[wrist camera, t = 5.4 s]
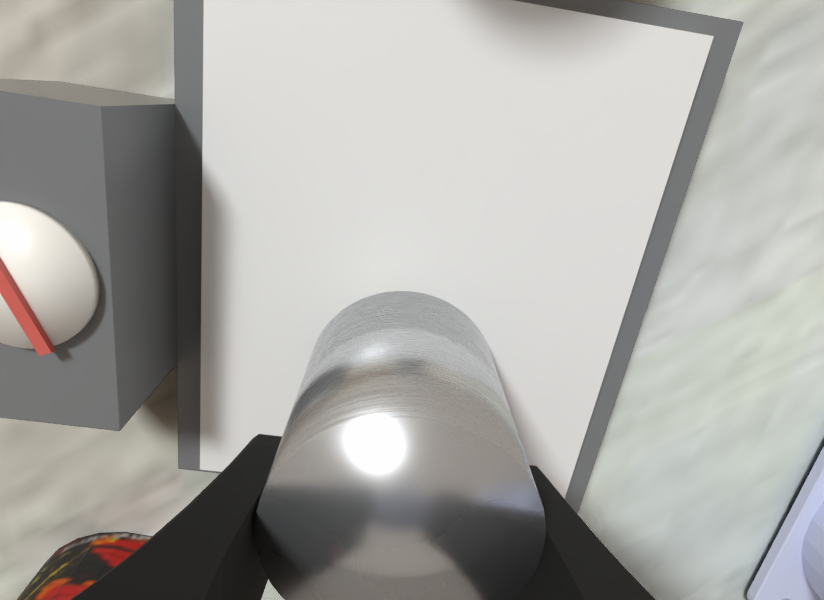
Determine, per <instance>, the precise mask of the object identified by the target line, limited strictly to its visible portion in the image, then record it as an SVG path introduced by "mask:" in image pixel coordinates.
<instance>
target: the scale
mask: <svg viewBox="0 0 824 600" xmlns="http://www.w3.org/2000/svg"><path fill="white" fill-rule="evenodd" d="M742 25H743V22H741V21H735V20H730V19H724V18H719V17H713V16H708V15H702V14H697V13H691V12H686V11H680V10H675V9H669V8H663V7H658V6H652V5H647V4H641V3H636V2H630V1H625V0H174V69H175V100H172V99H166V98H160V97H153V96H147V95H141V94H134V93H128V92H122V91H115V90H109V89H103V88H96V87H90V86H84V85H77V84H71V83H65V82H58V81H35V80H13V79H0V418H9V419H18V420H26V421H35V422H44V423H53V424H62V425H70V426H79V427H88V428H97V429H105V430H114V431H120V430H121V429H122V428H123V427H124V425H125V424H126V423H127V422H128V421H129V420H130V418H131V417H132V416H133V415H134V414H135V412H136V411H137V410H138V409H139V408H140V407H141V405H142V404H143V403H144V402H145V401H146V399H147V398H148V397H149V396H150V395H151V394H152V392H153V391H154V390H155V389H156V388H157V386H158V385H159V384H160V383H161V382H162V381H163V379H164V378H165V377H166V376H167V375H168V374H169V372H170V371H171V370H172V369H173V368H174V366H175V365H176V364H177V370H178V469H186V470H195V471H204V472H213V473H221V472H222V471H223V470H224V469H225V468H226V467H227V466H228V465H229V464H230V463H231V462H232V461H233V460H234V459H235V458H236V457H237V455H238V454H239V453H240V452H241V451H242V450H243V449H244V448H245V447H246V445H247V444H248V443H249V442H250V441H251V440H252V438H254V437H255V436H257V435H258V434H265V435H273V436H283V433H284V430H285V427H286V425H287V422H288V419H289V416H290V413H291V410H292V408H293V405H294V402H295V399H296V396H297V394H298V391H299V388H300V385H301V382H302V380H303V377H304V374H305V371H306V368H307V365H308V363H309V360H310V357H311V354H312V351H313V349H314V346H315V344H316V342H317V339H318V337H319V336H320V334H321V332H322V331H323V329H324V328H325V327H326V325H327V324H328V323H329V322H330V321H331V320H332V318H334V317H335V316H336V315H337V314H338V313H339V312H340V311H342V310H343V309H345V308H346V307H348V306H349V305H351V304H352V303H355V302H357V301H359V300H361V299H363V298H366V297H369V296H372V295H375V294H379V293H384V292H393V291H412V292H418V293H424V294H428V295H431V296H434V297H438V298H440V299H442V300H444V301H447V302H449V303H450V304H452V305H454V306H455V307H457V308H458V309H460V310H461V311H462V312H463V313H465V314H466V315H467V316H468V317H469V318H470V319H471V320H472V321H473V322H474V323H475V324H476V325H477V327H478V328H479V330H480V331H481V333H482V334H483V336H484V338H485V340H486V342H487V344H488V347H489V350H490V353H491V356H492V359H493V362H494V365H495V367H496V370H497V373H498V376H499V379H500V382H501V385H502V388H503V391H504V394H505V397H506V400H507V403H508V405H509V408H510V411H511V414H512V417H513V420H514V423H515V426H516V429H517V432H518V435H519V438H520V441H521V444H522V446H523V449H524V452H525V455H526V458H527V461H528V464H529V465H534V466H537V467H538V468H539V469H540V470H541V471H542V472H543V474H544V475H545V476H546V477H547V478H548V480H549V481H550V482H551V483H552V484H553V486H554V487H555V488H556V489H557V491H558V492H559V493H560V494H561V495H562V497H563V498H564V499H565V500H566V501H567V503H568V504H569V505H570V506H571V507H572V509H573V510H574V511H575V512H576V513H578V510H579V507H580V504H581V501H582V498H583V496H584V493H585V490H586V487H587V484H588V481H589V478H590V475H591V472H592V469H593V466H594V463H595V460H596V457H597V454H598V451H599V448H600V445H601V442H602V439H603V436H604V433H605V430H606V428H607V425H608V422H609V419H610V416H611V413H612V410H613V407H614V404H615V401H616V398H617V395H618V392H619V389H620V386H621V383H622V380H623V377H624V374H625V371H626V368H627V365H628V362H629V359H630V357H631V354H632V351H633V348H634V345H635V342H636V339H637V336H638V333H639V330H640V327H641V324H642V321H643V318H644V315H645V312H646V309H647V306H648V303H649V300H650V297H651V294H652V291H653V289H654V286H655V283H656V280H657V277H658V274H659V271H660V268H661V265H662V262H663V259H664V256H665V253H666V250H667V247H668V244H669V241H670V238H671V235H672V232H673V229H674V226H675V223H676V220H677V218H678V215H679V212H680V209H681V206H682V203H683V200H684V197H685V194H686V191H687V188H688V185H689V182H690V179H691V176H692V173H693V170H694V167H695V164H696V161H697V158H698V155H699V152H700V150H701V147H702V144H703V141H704V138H705V135H706V132H707V129H708V126H709V123H710V120H711V117H712V114H713V111H714V108H715V105H716V102H717V99H718V96H719V93H720V90H721V87H722V84H723V82H724V79H725V76H726V73H727V70H728V67H729V64H730V61H731V58H732V55H733V52H734V49H735V46H736V43H737V40H738V37H739V34H740V31H741V28H742Z"/></svg>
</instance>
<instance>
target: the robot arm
mask: <svg viewBox="0 0 824 600" xmlns="http://www.w3.org/2000/svg"><path fill="white" fill-rule="evenodd" d="M281 439H282V436H273V435H265V434H258V435H257V436H255V437H254V438H252V440H251V441H250V442H249V443H248V444H247V445H246V447H245V448H244V449H243V450H242V451H241V452H240V453H239V454H238V455H237V457H236V458H235V459H234V460H233V461H232V462H231V463H230V464H229V465H228V466H227V467H226V468H225V469H224V470H223V471H222V472H221V473H220V474H219V475H218V476H217V477H216V479H215V480H213V481H212V482H211V483H210V484H209V485H208V486H207V487H206V488H205V489H204V490H203V491H202V492H201V493H200V494H199V495H198V496H197V497H196V498H195V499H194V500H193V501H192V502H191V503H190V504H189V505H188V506H187V507H185V508H184V509H183V510H182V511H181V512H180V513H179V514H178V515H177V516H175V517H174V518H173V519H172V520H171V521H170V522H169V523H167V524H166V525H165V526H164V527H163V528H162V529H161V530H159V531H158V532H157V533H156V534H155V535H154V536H153V537H151V538H150V539H149V540H148V541H147V542H146V543H144V544H143V545H142V546H141V547H139V548H138V549H137V550H136V551H134V552H133V553H132V554H131V555H130V556H128V557H127V558H126V559H124V560H123V561H122V562H121V563H119V564H118V565H117V566H115V567H114V568H113V569H111V570H110V571H109V572H107V573H106V574H105V575H103V576H102V577H101V578H99V579H98V580H97V581H96V582H94V583H93V584H91V585H90V586H89V587H87V588H86V589H84V590H83V591H82V592H80V593H79V594H77V595H76V596H74V597H73V598H71V599H70V600H261V598H262V595H263V592H264V589H265V586H266V583H267V581H268V577H267V576H266V574H265V573H264V570H263V568H262V566H261V563H260V561H259V558H258V554H257V550H256V546H255V536H254V525H255V515H256V511H257V508H258V504H259V501H260V498H261V495H262V492H263V489H264V486H265V484H266V481H267V478H268V475H269V472H270V470H271V467H272V464H273V461H274V458H275V456H276V453H277V450H278V447H279V444H280V441H281ZM529 467H530V470H531V473H532V476H533V479H534V482H535V484H536V487H537V490H538V493H539V496H540V499H541V502H542V505H543V508H544V514H545V521H546V539H545V544H544V549H543V554H542V556H541V559H540V562H539V565H538V567H537V569H536V571H535V572H534V574H533V576H532V578H531V580H530V581H529V582H528V584H527V585H526V586H525V588H524V589H523V590H522V592H521V593H520V594H519V595H518V596H517V597H516V598H515V599H514V600H655V599H654V598H653V597H652V596H651V595H650V594H649V593H648V592H647V591H646V590H645V589H644V588H643V587H642V585H641V584H640V583H639V582H638V581H637V580H636V579H635V578H634V577H633V576H632V575H631V574H630V573H629V572H628V571H627V570H626V569H625V568H624V567H623V566H622V565H621V564H620V562H619V561H618V560H617V559H616V558H615V557H614V556H613V555H612V554H611V553H610V552H609V550H608V549H607V548H606V547H605V546H604V545H603V544H602V543H601V541H600V540H599V539H598V538H597V537H596V536H595V535H594V533H593V532H592V531H591V530H590V529H589V528H588V526H587V525H586V524H585V523H584V522H583V521H582V519H581V518H580V517H579V516H578V515H577V513H576V512H575V511H574V510H573V509H572V507H571V506H570V505H569V504H568V503H567V501H566V500H565V499H564V498H563V497H562V495H561V494H560V493H559V492H558V491H557V489H556V488H555V487H554V486H553V484H552V483H551V482H550V481H549V480H548V478H547V477H546V476H545V475H544V474H543V472H542V471H541V470H540V469H539V468H538V467H537V466H534V465H529ZM747 599H748V600H824V447H823V448H822V450H821V452H820V454H819V456H818V458H817V460H816V462H815V464H814V466H813V468H812V470H811V471H810V473H809V475H808V477H807V479H806V481H805V483H804V485H803V487H802V489H801V491H800V493H799V494H798V496H797V498H796V500H795V502H794V504H793V506H792V508H791V510H790V512H789V514H788V515H787V517H786V519H785V521H784V523H783V525H782V527H781V529H780V531H779V533H778V535H777V537H776V538H775V540H774V542H773V544H772V546H771V548H770V550H769V552H768V554H767V556H766V558H765V559H764V561H763V563H762V565H761V567H760V569H759V571H758V573H757V575H756V577H755V579H754V581H753V582H752V584H751V586H750V588H749V590H748V593H747Z"/></svg>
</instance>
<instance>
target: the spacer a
mask: <svg viewBox="0 0 824 600" xmlns="http://www.w3.org/2000/svg"><path fill="white" fill-rule="evenodd" d="M254 536H255V546H256V550H257V554H258V558H259V561H260V563H261V566H262V568H263V570H264V573H265V574H266V576H267V577H268V579H269V581H270V582H271V584H272V585H273V587H274V588H275V589H276V590H277V591H278V593H279V594H280V595H281V596H282V597H283V598H284V599H285V600H514V599H515V598H516V597H517V596H518V595H519V594H520V593H521V592H522V590H523V589H524V588H525V586H526V585H527V584H528V582H529V581H530V580H531V578H532V576H533V574H534V572H535V571H536V569H537V567H538V565H539V562H540V559H541V556H542V554H543V549H544V544H545V539H546V521H545V514H544V508H543V505H542V502H541V499H540V496H539V493H538V490H537V487H536V484H535V482H534V479H533V476H532V473H531V470H530V467H529V464H528V461H527V458H526V455H525V452H524V449H523V446H522V444H521V441H520V438H519V435H518V432H517V429H516V426H515V423H514V420H513V417H512V414H511V411H510V408H509V405H508V403H507V400H506V397H505V394H504V391H503V388H502V385H501V382H500V379H499V376H498V373H497V370H496V367H495V365H494V362H493V359H492V356H491V353H490V350H489V347H488V344H487V342H486V340H485V338H484V336H483V334H482V333H481V331H480V330H479V328H478V327H477V325H476V324H475V323H474V322H473V321H472V320H471V319H470V318H469V317H468V316H467V315H466V314H465V313H463V312H462V311H461V310H460V309H458V308H457V307H455V306H454V305H452V304H450V303H449V302H447V301H444V300H442V299H440V298H438V297H434V296H431V295H428V294H424V293H418V292H412V291H393V292H384V293H379V294H375V295H372V296H369V297H366V298H363V299H361V300H359V301H357V302H355V303H352V304H351V305H349V306H348V307H346V308H345V309H343V310H342V311H340V312H339V313H338V314H337V315H336V316H335V317H334V318H332V320H331V321H330V322H329V323H328V324H327V325H326V327H325V328H324V329H323V331H322V332H321V334H320V336H319V337H318V339H317V342H316V344H315V346H314V349H313V351H312V354H311V357H310V360H309V363H308V365H307V368H306V371H305V374H304V377H303V380H302V382H301V385H300V388H299V391H298V394H297V396H296V399H295V402H294V405H293V408H292V410H291V413H290V416H289V419H288V422H287V425H286V427H285V430H284V433H283V436H282V439H281V441H280V444H279V447H278V450H277V453H276V456H275V458H274V461H273V464H272V467H271V470H270V472H269V475H268V478H267V481H266V484H265V486H264V489H263V492H262V495H261V498H260V501H259V504H258V508H257V511H256V515H255V525H254Z"/></svg>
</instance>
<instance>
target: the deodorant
mask: <svg viewBox="0 0 824 600" xmlns="http://www.w3.org/2000/svg"><path fill="white" fill-rule="evenodd" d="M150 538H151V537H150V536H144V535H138V534H132V533H126V532H118V533H98V534H94V535H90V536H86V537H82V538H78V539H76V540H74V541H72V542H70V543H69V544H67V545H65V546H63V547H61V548H59V549H58V550H57V551H56V552H55V553H54V554H53V555H52V556H51V557H50V558H49V559H48V560H47V562H46V563H45V564H44V565H43V566H42V568H41V569H40V570H39V572H38V573H37V574H36V576H35V577H34V578H33V579H32V581H31V582H30V583H29V585H28V586H27V587H26V588H25V590H24V591H23V592H22V594H21V595H20V596H19V597H18V599H17V600H70V599H71V598H73V597H74V596H76V595H77V594H79V593H80V592H82V591H83V590H84V589H86V588H87V587H89V586H90V585H91V584H93V583H94V582H96V581H97V580H98V579H99V578H101V577H102V576H103V575H105V574H106V573H107V572H109V571H110V570H111V569H113V568H114V567H115V566H117V565H118V564H119V563H121V562H122V561H123V560H124V559H126V558H127V557H128V556H130V555H131V554H132V553H133V552H134V551H136V550H137V549H138V548H139V547H141V546H142V545H143V544H144V543H146V542H147V541H148V540H149V539H150Z"/></svg>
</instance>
